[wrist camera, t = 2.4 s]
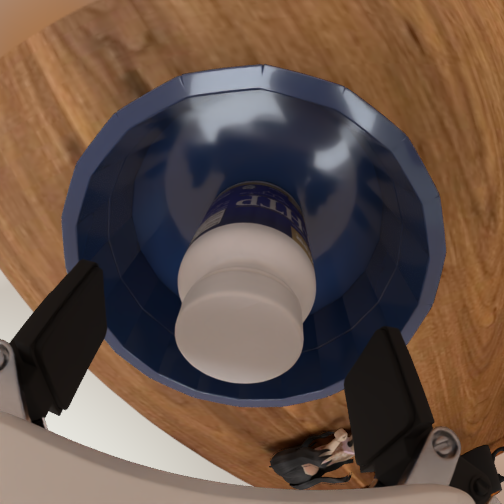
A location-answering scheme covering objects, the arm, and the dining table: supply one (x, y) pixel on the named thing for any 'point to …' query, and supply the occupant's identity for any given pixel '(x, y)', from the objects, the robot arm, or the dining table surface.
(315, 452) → the toy figure
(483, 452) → the mug
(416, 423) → the robot arm
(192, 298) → the pill bottle
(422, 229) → the bowl
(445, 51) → the dining table surface
